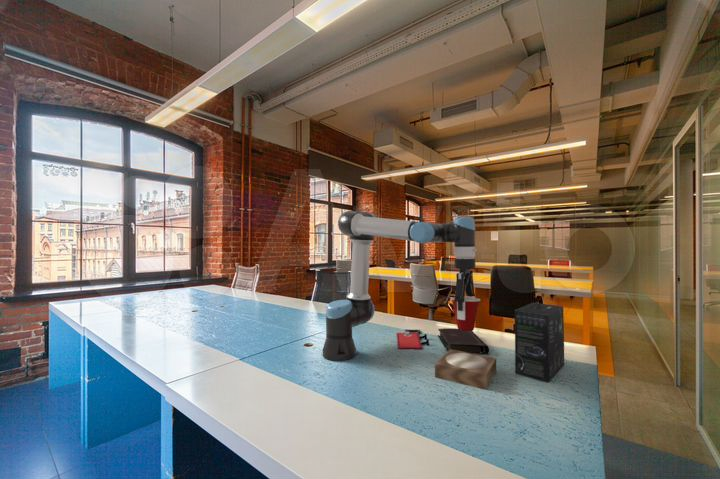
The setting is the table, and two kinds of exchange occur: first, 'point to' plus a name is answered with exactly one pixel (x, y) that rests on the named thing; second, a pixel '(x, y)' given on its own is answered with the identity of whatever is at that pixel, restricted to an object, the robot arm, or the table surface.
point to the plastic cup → (467, 313)
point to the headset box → (539, 340)
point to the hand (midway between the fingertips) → (465, 316)
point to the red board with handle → (411, 340)
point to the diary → (462, 341)
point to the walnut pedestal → (466, 368)
